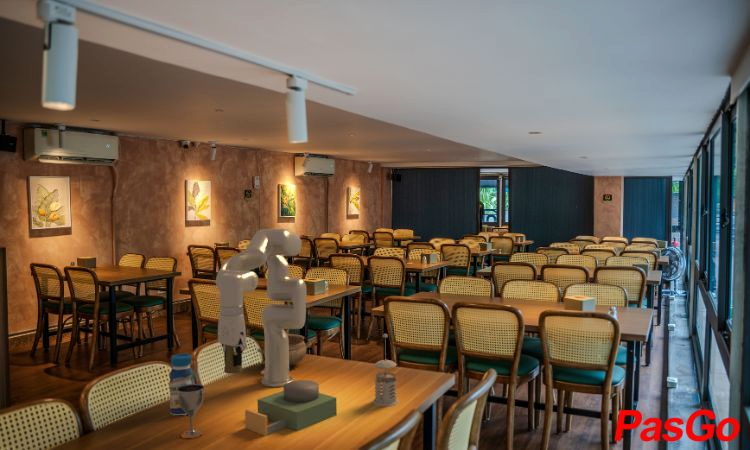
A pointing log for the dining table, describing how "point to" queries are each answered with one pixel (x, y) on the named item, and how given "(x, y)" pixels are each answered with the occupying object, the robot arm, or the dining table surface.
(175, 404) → the beverage bottle
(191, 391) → the wine glass
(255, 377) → the dining table surface
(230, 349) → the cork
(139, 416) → the dining table surface
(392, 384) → the french press
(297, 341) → the cooking pot
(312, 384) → the green box with dome
